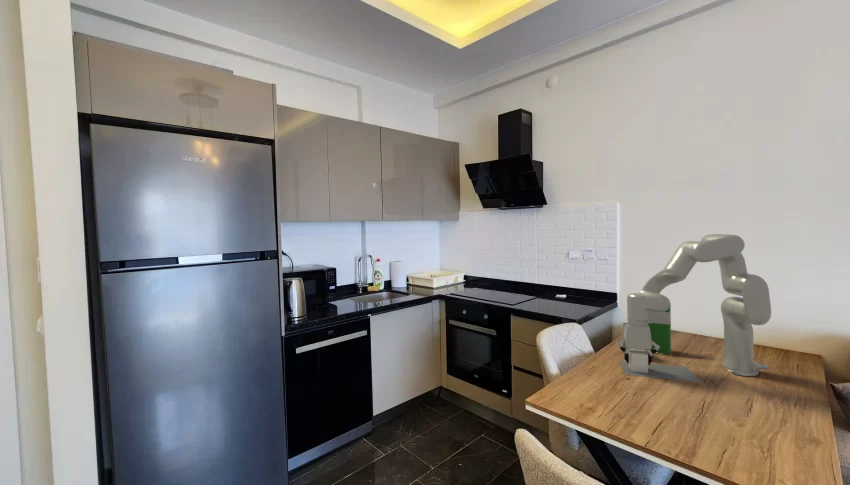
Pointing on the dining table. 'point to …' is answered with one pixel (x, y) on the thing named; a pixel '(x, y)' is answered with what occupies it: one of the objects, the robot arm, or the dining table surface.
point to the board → (662, 372)
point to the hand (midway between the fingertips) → (637, 362)
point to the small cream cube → (638, 360)
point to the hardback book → (661, 329)
